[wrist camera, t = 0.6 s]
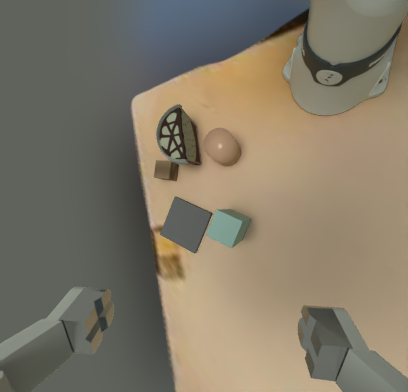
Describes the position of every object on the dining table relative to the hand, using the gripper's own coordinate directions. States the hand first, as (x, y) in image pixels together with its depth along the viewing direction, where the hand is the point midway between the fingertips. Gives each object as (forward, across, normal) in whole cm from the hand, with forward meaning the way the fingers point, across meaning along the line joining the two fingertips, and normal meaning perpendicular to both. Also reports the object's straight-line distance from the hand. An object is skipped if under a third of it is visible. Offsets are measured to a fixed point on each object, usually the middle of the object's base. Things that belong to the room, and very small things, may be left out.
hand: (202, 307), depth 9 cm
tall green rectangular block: (+36, -4, +16) cm, 40 cm away
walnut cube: (+45, +13, +8) cm, 47 cm away
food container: (+46, +8, +2) cm, 47 cm away
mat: (+38, +8, +18) cm, 43 cm away
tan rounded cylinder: (+43, -1, +2) cm, 43 cm away
